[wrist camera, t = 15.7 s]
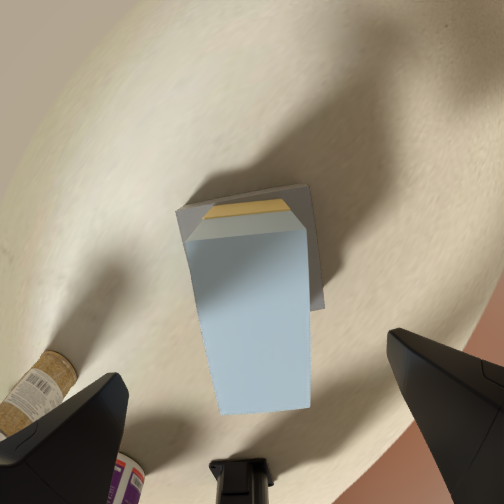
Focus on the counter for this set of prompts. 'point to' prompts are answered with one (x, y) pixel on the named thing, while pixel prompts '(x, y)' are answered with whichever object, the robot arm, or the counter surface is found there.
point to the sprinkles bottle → (36, 393)
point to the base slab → (290, 194)
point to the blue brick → (254, 310)
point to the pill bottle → (126, 481)
